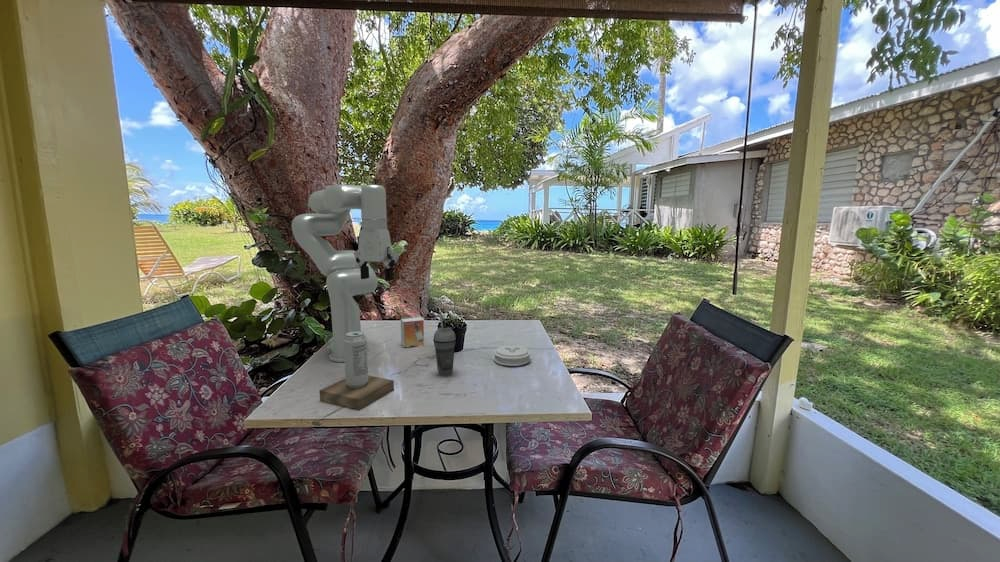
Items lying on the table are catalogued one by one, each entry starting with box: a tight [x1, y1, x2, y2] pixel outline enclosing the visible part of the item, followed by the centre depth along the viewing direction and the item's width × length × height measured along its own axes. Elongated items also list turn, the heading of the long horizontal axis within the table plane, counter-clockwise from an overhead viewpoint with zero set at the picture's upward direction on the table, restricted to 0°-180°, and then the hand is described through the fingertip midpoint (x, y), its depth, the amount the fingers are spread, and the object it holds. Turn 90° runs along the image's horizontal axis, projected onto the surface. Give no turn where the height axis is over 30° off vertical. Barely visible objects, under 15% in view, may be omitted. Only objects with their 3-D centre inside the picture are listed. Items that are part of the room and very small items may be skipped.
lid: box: [493, 344, 531, 367], centre depth 145 cm, size 13×13×5 cm
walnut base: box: [319, 374, 395, 411], centre depth 117 cm, size 14×14×3 cm
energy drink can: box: [344, 330, 369, 388], centre depth 116 cm, size 6×6×15 cm
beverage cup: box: [432, 312, 457, 378], centre depth 132 cm, size 7×7×20 cm
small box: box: [400, 316, 425, 348], centre depth 163 cm, size 8×6×10 cm
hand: (376, 279), depth 132 cm, fingers open, 9 cm apart
